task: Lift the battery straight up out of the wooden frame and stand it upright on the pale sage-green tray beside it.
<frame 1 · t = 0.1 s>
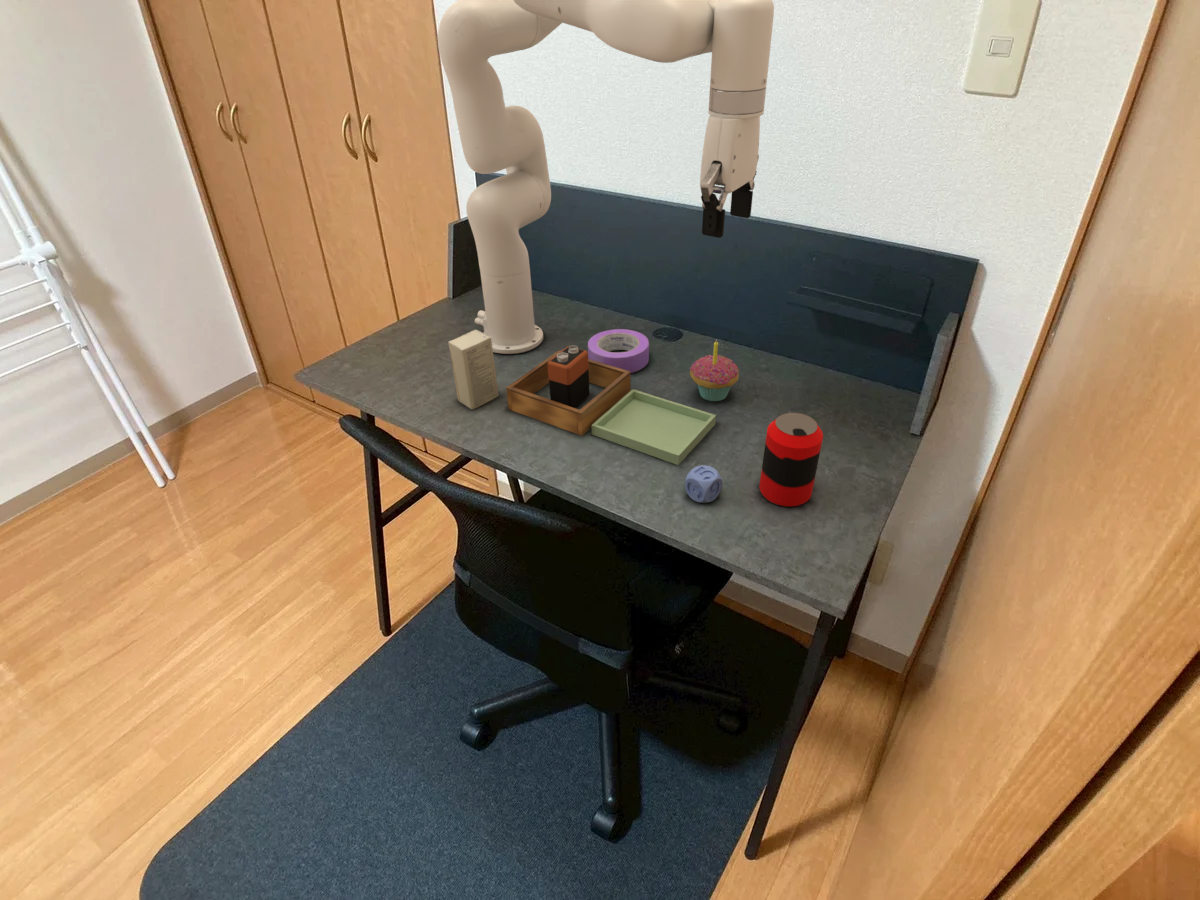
hand: (726, 225, 108), 31 cm above the table, tool pointing down, fingers open, 9 cm apart
cosmetic box: (478, 400, 129), on the table
decorative dice: (702, 495, 106), on the table
tape roll: (618, 361, 140), on the table
cupcake: (712, 395, 129), on the table
tray: (653, 429, 120), on the table
wooden frame: (570, 401, 128), on the table
battery: (570, 402, 128), resting in wooden frame
soda can: (784, 492, 107), on the table
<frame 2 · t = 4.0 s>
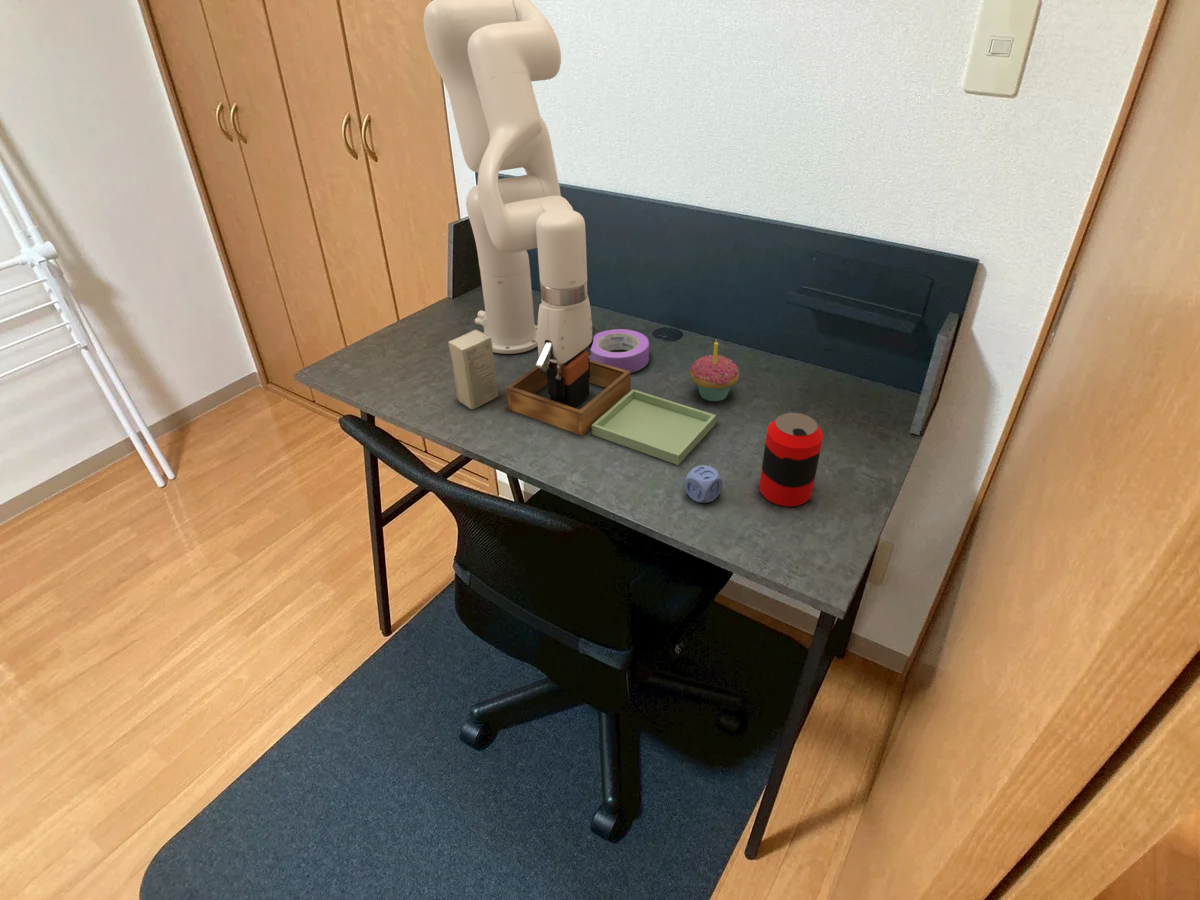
hand: (569, 385, 126), 3 cm above the table, tool pointing down, fingers closed on battery, 7 cm apart
battery: (570, 402, 128), resting in wooden frame, touching gripper
everything else where it was.
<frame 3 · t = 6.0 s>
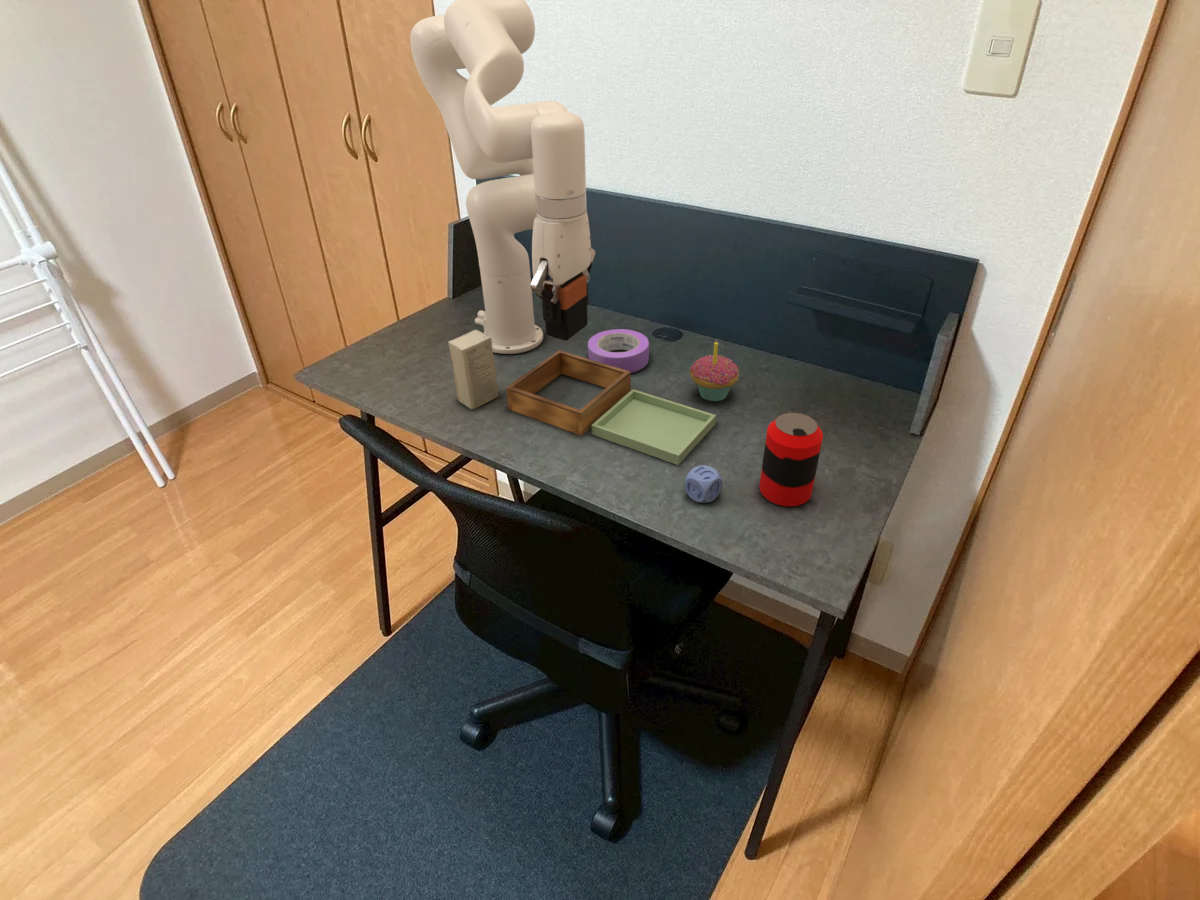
hand: (566, 312, 118), 17 cm above the table, tool pointing down, fingers closed on battery, 7 cm apart
battery: (567, 331, 120), point 14 cm above the table, touching gripper
everything else where it was.
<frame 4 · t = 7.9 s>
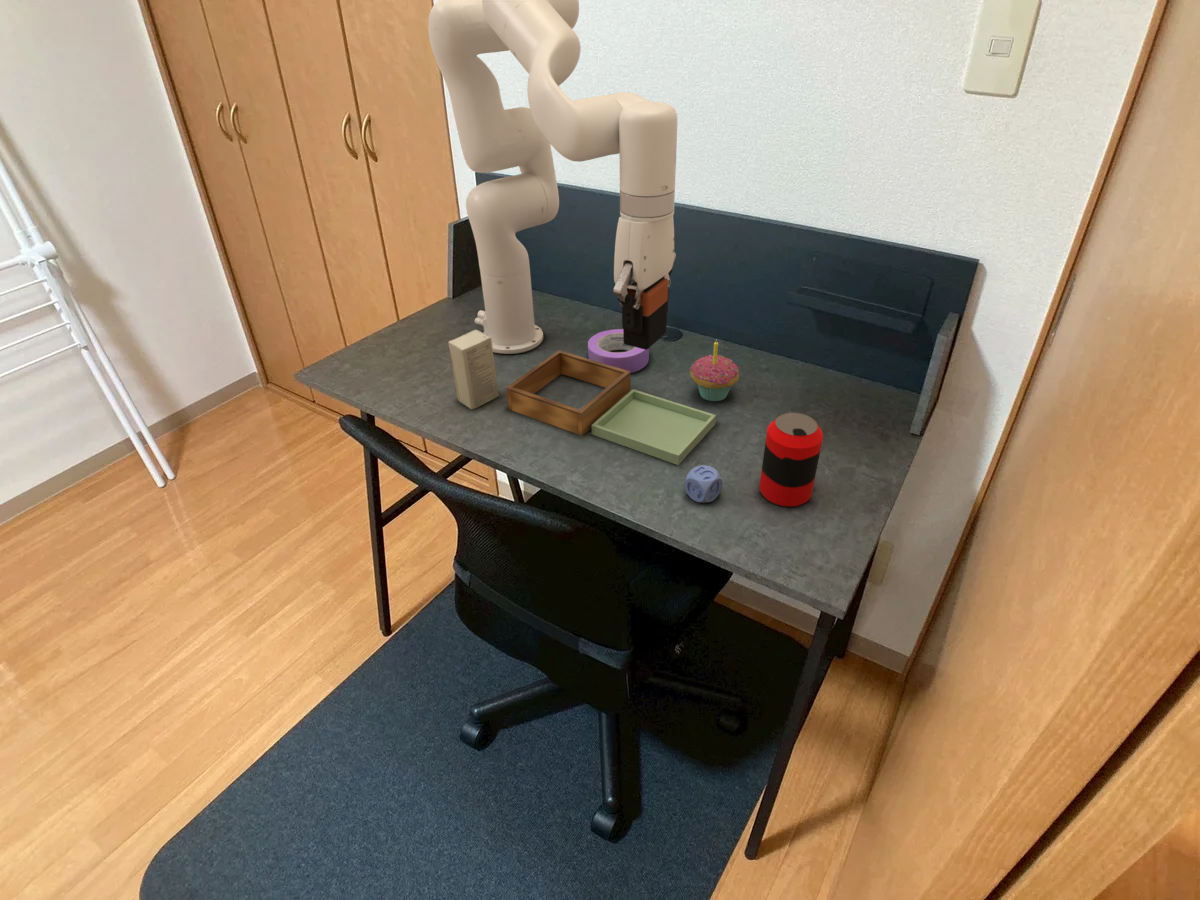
hand: (645, 319, 109), 20 cm above the table, tool pointing down, fingers closed on battery, 7 cm apart
battery: (645, 340, 112), point 16 cm above the table, touching gripper
everything else where it was.
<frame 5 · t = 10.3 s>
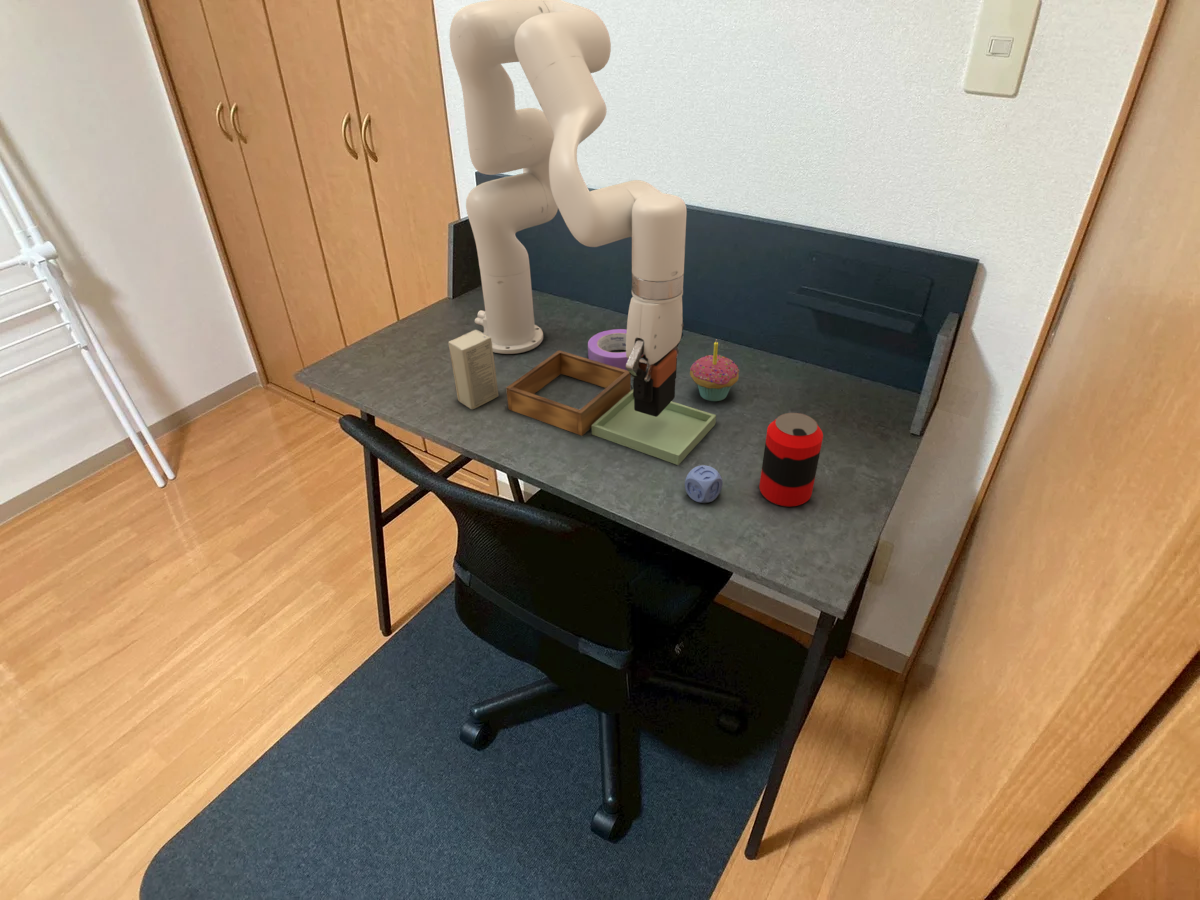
hand: (655, 387, 115), 8 cm above the table, tool pointing down, fingers closed on battery, 7 cm apart
battery: (654, 406, 117), point 5 cm above the table, touching gripper
everything else where it was.
when the fingers open (4 cm above the table, at t = 12.0 s): battery stays where it is, resting on tray.
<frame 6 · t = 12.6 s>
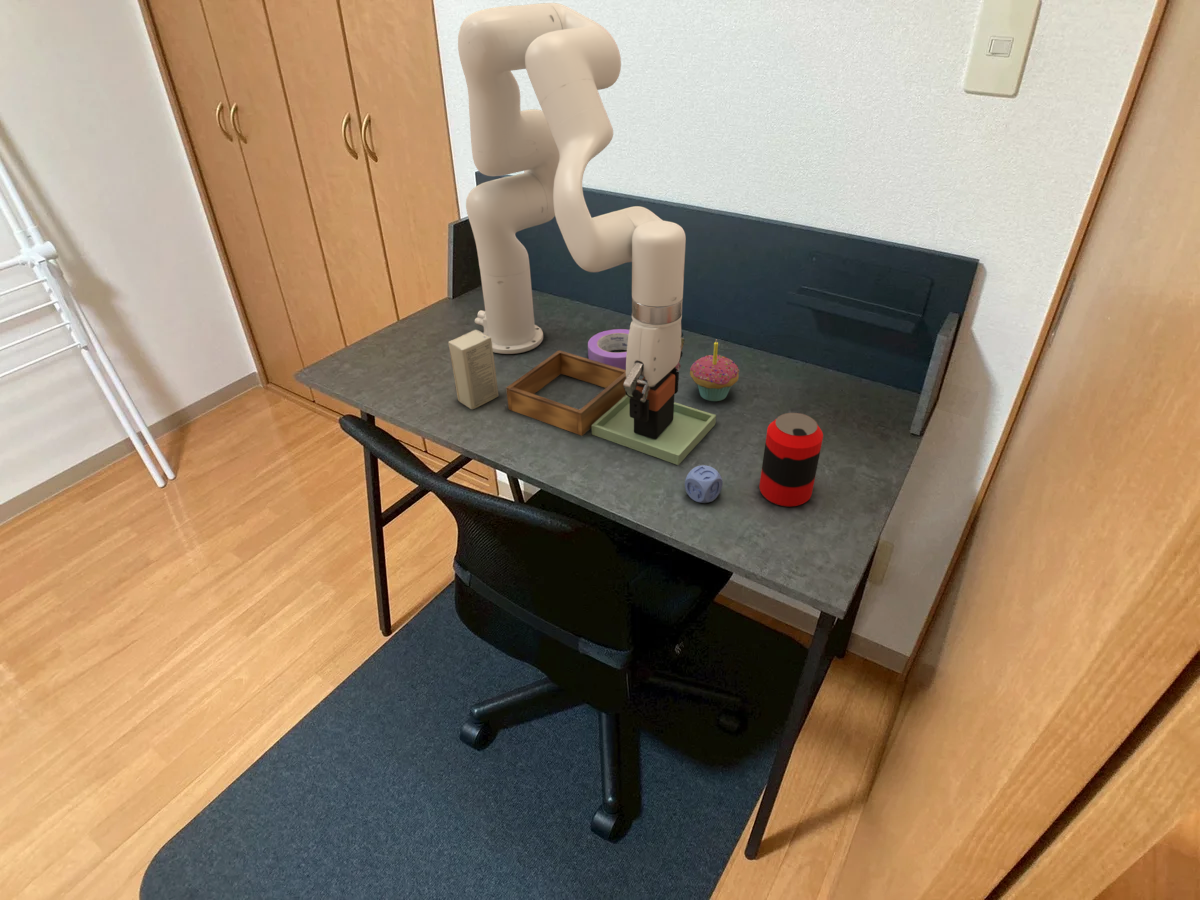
hand: (654, 404, 117), 5 cm above the table, tool pointing down, fingers open, 9 cm apart
battery: (653, 428, 120), resting on tray
everything else where it was.
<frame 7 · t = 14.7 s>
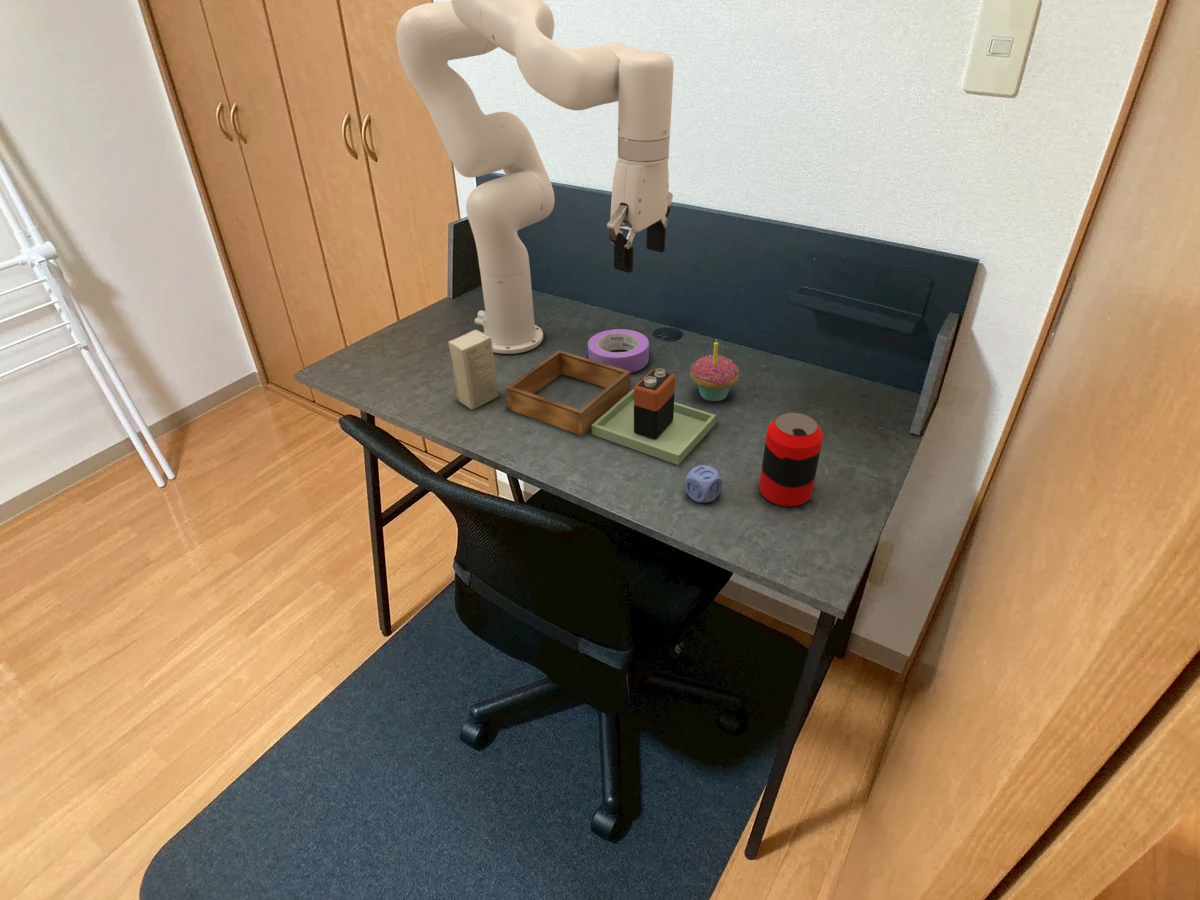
hand: (639, 260, 115), 25 cm above the table, tool pointing down, fingers open, 9 cm apart
nothing on the table moved.
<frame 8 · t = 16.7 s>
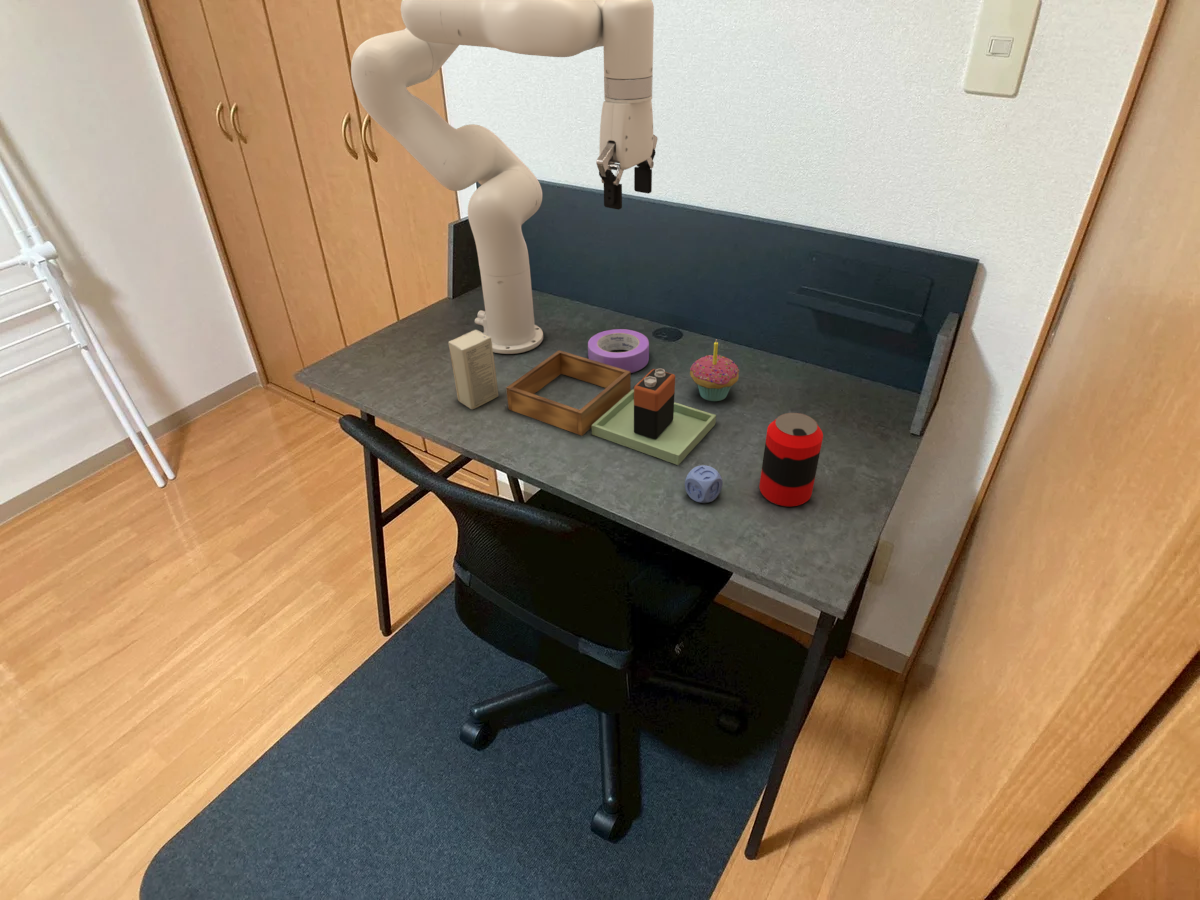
hand: (628, 199, 122), 30 cm above the table, tool pointing down, fingers open, 9 cm apart
nothing on the table moved.
at the end: battery inside the target area in the tray (0.1 cm from its centre), point 0.2 cm above the tray's base; battery tilted 0°; the gripper is holding nothing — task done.
